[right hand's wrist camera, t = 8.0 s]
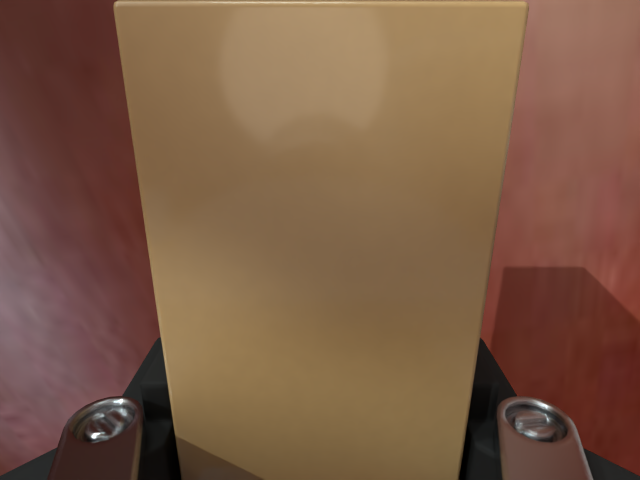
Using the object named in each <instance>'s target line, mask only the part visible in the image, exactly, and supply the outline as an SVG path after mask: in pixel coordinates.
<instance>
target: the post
mask: <svg viewBox="0 0 640 480" xmlns="http://www.w3.org/2000/svg"><path fill="white" fill-rule="evenodd" d="M528 11H529V6H528V3H526V2H524V1H400V0H118V1H116V2H115V3H114V15H115V22H116V29H117V35H118V42H119V49H120V56H121V63H122V70H123V77H124V84H125V91H126V98H127V105H128V112H129V119H130V126H131V133H132V140H133V147H134V153H135V160H136V167H137V174H138V181H139V188H140V195H141V202H142V209H143V216H144V223H145V230H146V237H147V244H148V251H149V258H150V265H151V271H152V278H153V285H154V292H155V299H156V306H157V313H158V320H159V327H160V334H161V341H162V348H163V355H164V362H165V369H166V376H167V383H168V389H169V396H170V403H171V410H172V417H173V424H174V431H175V438H176V445H177V452H178V459H179V466H180V473H181V480H459V475H460V469H461V462H462V455H463V449H464V442H465V435H466V428H467V422H468V415H469V408H470V401H471V395H472V388H473V381H474V374H475V368H476V361H477V354H478V348H479V341H480V334H481V327H482V321H483V314H484V307H485V300H486V294H487V287H488V280H489V273H490V267H491V260H492V253H493V247H494V240H495V233H496V226H497V220H498V213H499V206H500V199H501V193H502V186H503V179H504V172H505V166H506V159H507V152H508V146H509V139H510V132H511V125H512V119H513V112H514V105H515V98H516V92H517V85H518V78H519V71H520V65H521V58H522V51H523V45H524V38H525V31H526V24H527V18H528Z"/></svg>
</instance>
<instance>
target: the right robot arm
mask: <svg viewBox="0 0 640 480" xmlns="http://www.w3.org/2000/svg"><path fill="white" fill-rule="evenodd" d="M0 480H181V473H180V466H179V459H178V452H177V445H176V438H175V431H174V424H173V417H172V410H171V403H170V396H169V389H168V383H167V376H166V369H165V362H164V355H163V348H162V341H161V337H160V338H158V339H157V340H156V342H155V343H154V345H153V346H152V348H151V350H150V351H149V353H148V355H147V356H146V358H145V360H144V361H143V363H142V364H141V366H140V368H139V369H138V371H137V373H136V374H135V376H134V378H133V379H132V381H131V382H130V384H129V386H128V387H127V389H126V391H125V392H124V394H123V396H116V397H108V398H104V399H100V400H97V401H95V402H92V403H90V404H88V405H86V406H84V407H83V408H81V409H80V410H78V411H77V412H76V413H75V414H74V415H73V416H72V417H71V418H70V419H69V420H68V421H67V423H66V425H65V427H64V429H63V432H62V435H61V438H60V441H59V444H58V447H57V448H55V449H53V450H51V451H49V452H47V453H45V454H43V455H41V456H39V457H37V458H35V459H33V460H31V461H29V462H27V463H25V464H23V465H21V466H19V467H17V468H15V469H14V470H12V471H10V472H8V473H6V474H4V475H2V476H0ZM459 480H640V476H638V475H636V474H634V473H632V472H630V471H628V470H626V469H624V468H622V467H620V466H618V465H616V464H614V463H612V462H610V461H608V460H606V459H604V458H602V457H600V456H598V455H596V454H594V453H592V452H590V451H588V450H586V449H584V448H583V447H582V444H581V441H580V438H579V435H578V432H577V429H576V427H575V425H574V423H573V421H572V420H571V419H570V418H569V417H568V416H567V415H566V414H565V413H564V412H563V411H562V410H560V409H559V408H557V407H556V406H554V405H552V404H550V403H548V402H545V401H543V400H540V399H536V398H532V397H524V396H517V395H516V393H515V392H514V390H513V389H512V387H511V385H510V384H509V382H508V380H507V379H506V377H505V375H504V374H503V372H502V371H501V369H500V367H499V366H498V364H497V362H496V361H495V359H494V357H493V356H492V354H491V353H490V351H489V349H488V348H487V346H486V344H485V343H484V341H483V340H482V339H481V338H480V341H479V348H478V354H477V361H476V368H475V374H474V381H473V388H472V395H471V401H470V408H469V415H468V422H467V428H466V435H465V442H464V449H463V455H462V462H461V469H460V475H459Z"/></svg>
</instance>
